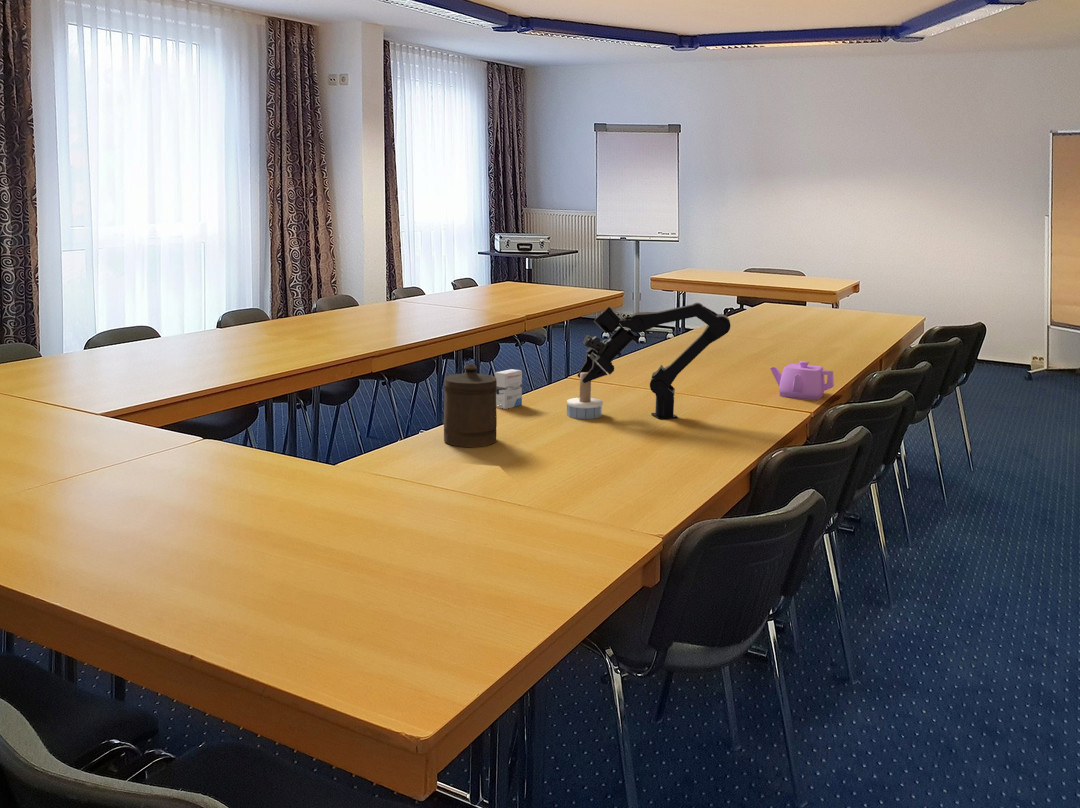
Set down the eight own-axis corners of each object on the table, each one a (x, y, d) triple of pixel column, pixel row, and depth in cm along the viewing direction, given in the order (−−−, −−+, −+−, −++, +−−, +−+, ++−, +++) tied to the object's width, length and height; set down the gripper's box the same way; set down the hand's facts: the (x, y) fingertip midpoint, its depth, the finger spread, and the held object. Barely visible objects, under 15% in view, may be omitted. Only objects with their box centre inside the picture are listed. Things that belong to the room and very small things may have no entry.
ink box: (511, 403, 318) (511, 368, 316) (522, 405, 315) (522, 370, 313) (494, 407, 312) (494, 371, 309) (505, 409, 309) (505, 373, 306)
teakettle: (836, 399, 331) (839, 364, 328) (793, 402, 326) (796, 366, 323) (808, 389, 347) (810, 356, 344) (767, 392, 342) (769, 358, 339)
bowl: (606, 418, 299) (606, 407, 298) (573, 419, 296) (573, 408, 295) (594, 410, 309) (594, 399, 308) (562, 412, 306) (563, 401, 305)
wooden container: (502, 436, 276) (502, 361, 271) (488, 449, 261) (488, 370, 257) (452, 432, 279) (452, 358, 274) (437, 445, 264) (436, 367, 260)
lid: (607, 407, 298) (608, 375, 296) (573, 409, 295) (574, 377, 293) (595, 399, 309) (596, 369, 306) (562, 401, 305) (563, 370, 303)
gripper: (593, 322, 306) (558, 356, 307) (604, 330, 288) (568, 367, 289) (616, 346, 309) (582, 380, 310) (629, 356, 291) (593, 392, 292)
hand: (580, 379), depth 300 cm, fingers open, 8 cm apart
